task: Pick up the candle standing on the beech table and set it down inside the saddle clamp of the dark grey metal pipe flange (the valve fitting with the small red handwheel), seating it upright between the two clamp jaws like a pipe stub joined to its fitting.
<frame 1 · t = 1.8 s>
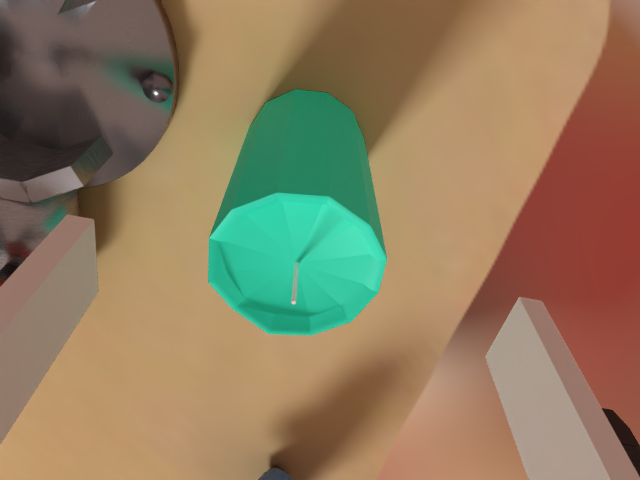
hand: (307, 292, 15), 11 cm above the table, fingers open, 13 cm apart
fitting: (35, 52, 22), on the table
candle: (305, 146, 25), on the table
grapes: (264, 467, 41), on the table
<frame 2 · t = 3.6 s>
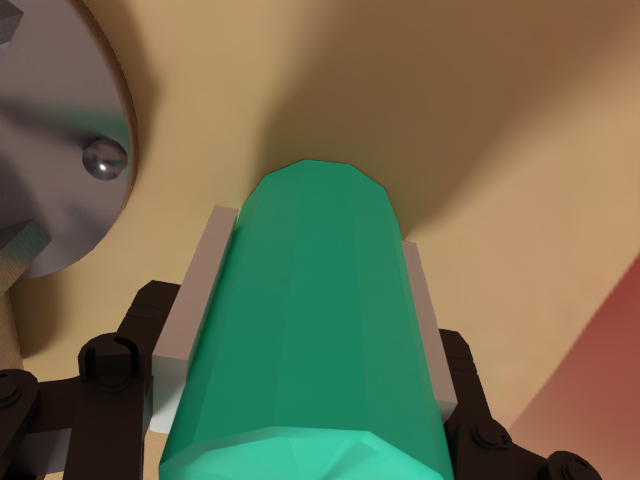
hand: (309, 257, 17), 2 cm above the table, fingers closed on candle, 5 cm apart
candle: (318, 229, 18), on the table, touching gripper
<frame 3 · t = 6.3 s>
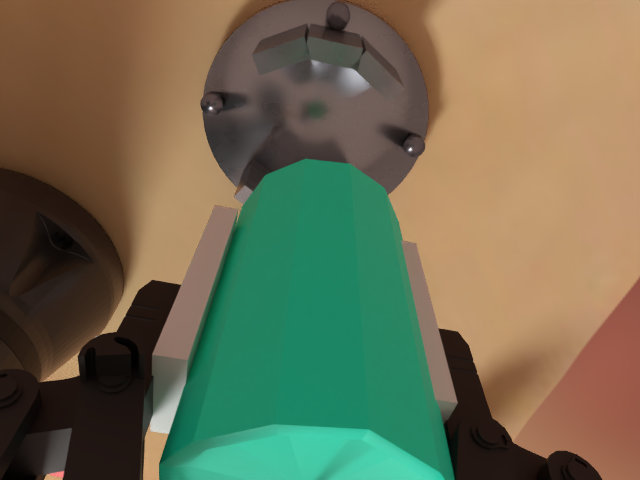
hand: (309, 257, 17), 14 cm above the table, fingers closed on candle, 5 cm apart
fitting: (315, 117, 29), on the table
candle: (319, 228, 18), point 12 cm above the table, touching gripper
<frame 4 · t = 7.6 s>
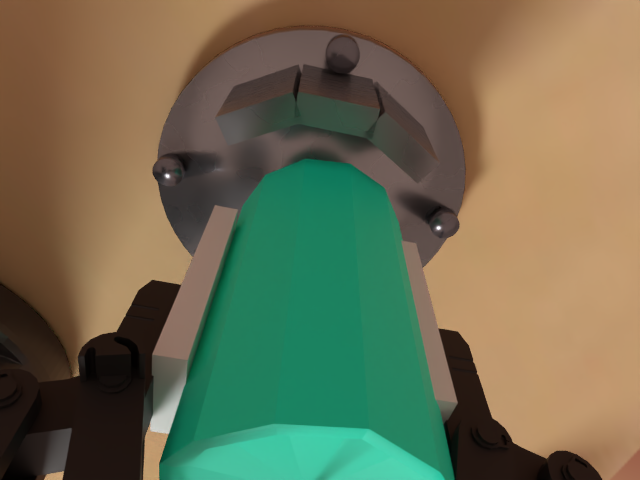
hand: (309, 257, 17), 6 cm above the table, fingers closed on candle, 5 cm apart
fitting: (311, 183, 21), on the table
candle: (319, 228, 18), point 4 cm above the table, touching gripper
when the fingers open (3 cm above the table, at t = 8.8 s): candle stays where it is, resting on fitting.
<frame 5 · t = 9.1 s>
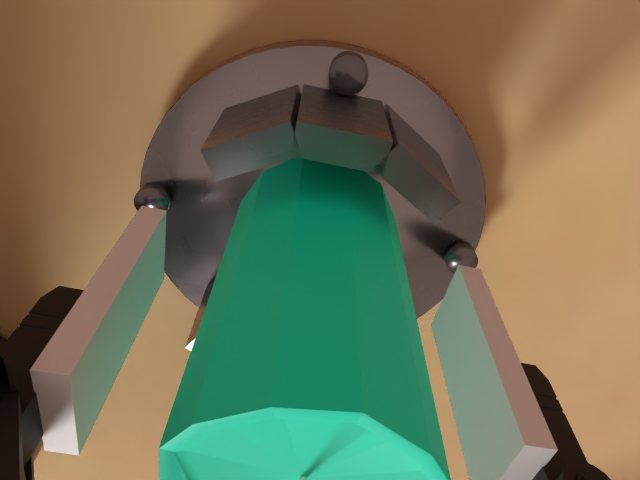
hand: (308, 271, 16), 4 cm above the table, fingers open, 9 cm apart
fitting: (312, 212, 19), on the table
candle: (316, 224, 19), point 1 cm above the table, touching fitting
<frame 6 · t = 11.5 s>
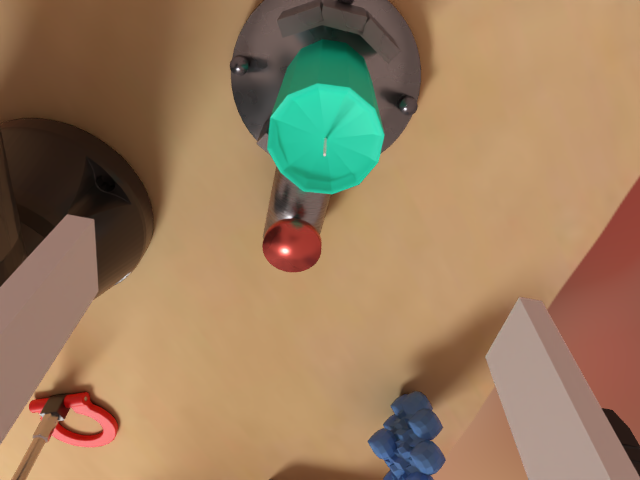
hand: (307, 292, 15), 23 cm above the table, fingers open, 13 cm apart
fitting: (325, 80, 34), on the table
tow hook: (81, 416, 56), on the table
candle: (328, 84, 33), point 1 cm above the table, touching fitting
grapes: (394, 395, 52), on the table
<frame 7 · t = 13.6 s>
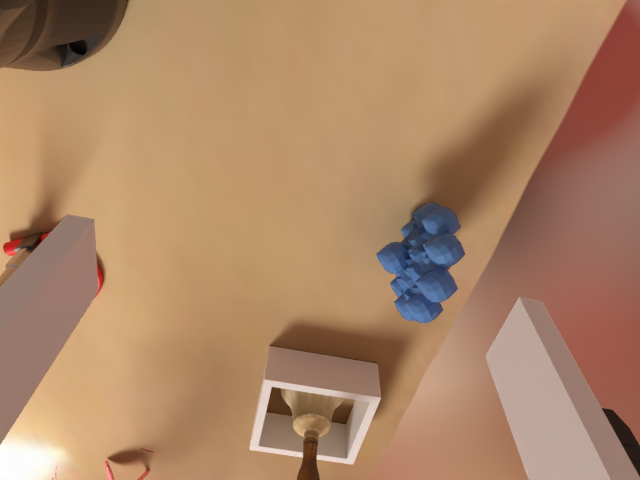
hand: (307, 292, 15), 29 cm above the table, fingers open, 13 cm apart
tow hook: (62, 266, 51), on the table
grapes: (405, 224, 47), on the table
hand bell: (313, 389, 61), resting in caddy
caddy: (313, 390, 61), on the table
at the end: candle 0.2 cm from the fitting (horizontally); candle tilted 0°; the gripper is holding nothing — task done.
